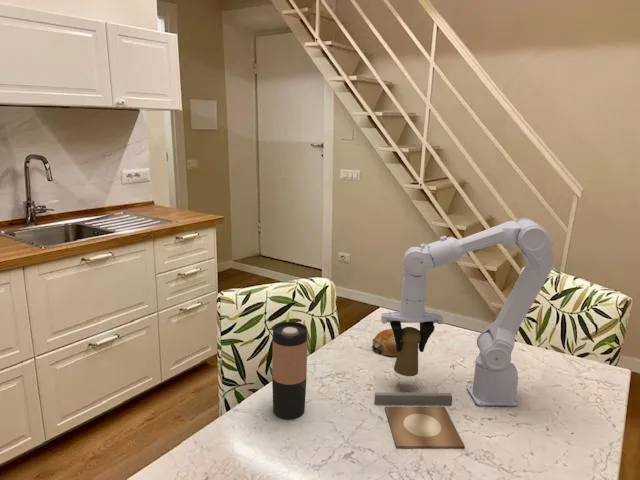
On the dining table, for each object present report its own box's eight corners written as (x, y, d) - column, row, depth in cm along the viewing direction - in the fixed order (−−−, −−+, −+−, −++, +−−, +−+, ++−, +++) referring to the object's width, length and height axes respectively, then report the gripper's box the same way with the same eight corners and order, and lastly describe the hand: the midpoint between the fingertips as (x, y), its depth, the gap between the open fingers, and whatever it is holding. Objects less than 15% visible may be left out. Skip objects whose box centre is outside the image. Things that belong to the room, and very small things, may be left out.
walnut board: (444, 408, 109) (444, 406, 109) (464, 448, 96) (464, 445, 96) (384, 408, 109) (384, 405, 109) (396, 448, 95) (396, 445, 95)
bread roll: (402, 370, 134) (416, 346, 133) (370, 354, 133) (384, 331, 132) (397, 353, 144) (410, 332, 142) (367, 339, 143) (380, 317, 141)
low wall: (449, 402, 112) (450, 392, 111) (451, 405, 111) (452, 395, 110) (374, 401, 111) (374, 392, 111) (375, 404, 110) (375, 395, 110)
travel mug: (290, 397, 112) (291, 318, 108) (312, 411, 107) (314, 329, 102) (265, 409, 107) (265, 327, 102) (287, 424, 102) (288, 339, 97)
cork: (419, 378, 114) (425, 336, 111) (393, 374, 114) (399, 332, 112) (417, 365, 119) (423, 325, 117) (393, 362, 120) (398, 322, 118)
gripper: (438, 292, 117) (434, 343, 120) (380, 291, 116) (377, 342, 119) (447, 302, 110) (442, 356, 113) (385, 301, 109) (382, 355, 112)
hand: (409, 350), depth 116 cm, fingers closed on cork, 5 cm apart
